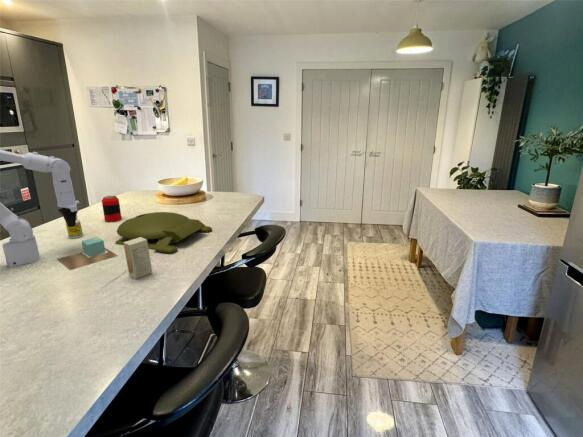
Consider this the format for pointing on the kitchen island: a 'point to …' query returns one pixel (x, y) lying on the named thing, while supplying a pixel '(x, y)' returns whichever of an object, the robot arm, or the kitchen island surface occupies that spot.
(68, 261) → the board
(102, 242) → the knob
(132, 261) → the skincare box
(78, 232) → the supplement bottle
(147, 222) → the green turtle
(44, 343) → the kitchen island surface
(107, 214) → the soda can
